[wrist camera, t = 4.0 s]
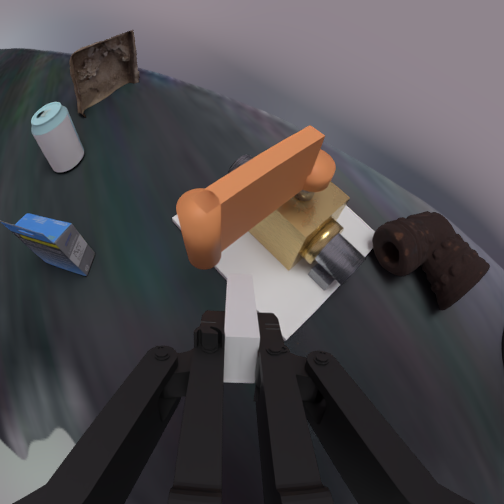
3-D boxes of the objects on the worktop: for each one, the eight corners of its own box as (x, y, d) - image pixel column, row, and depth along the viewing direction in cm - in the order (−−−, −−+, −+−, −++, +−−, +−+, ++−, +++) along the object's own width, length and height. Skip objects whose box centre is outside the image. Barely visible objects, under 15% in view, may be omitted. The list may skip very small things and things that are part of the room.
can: (53, 180, 42) (25, 133, 31) (53, 155, 45) (30, 110, 34) (86, 165, 44) (63, 114, 33) (84, 141, 46) (65, 93, 36)
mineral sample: (84, 119, 49) (64, 61, 36) (76, 114, 50) (56, 59, 36) (143, 81, 56) (135, 25, 42) (134, 77, 57) (125, 24, 43)
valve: (358, 264, 39) (398, 222, 28) (322, 303, 36) (359, 269, 26) (257, 173, 44) (267, 115, 34) (217, 201, 41) (216, 142, 31)
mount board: (378, 241, 42) (381, 238, 41) (284, 341, 34) (286, 339, 34) (276, 152, 48) (277, 148, 47) (173, 221, 40) (171, 218, 39)
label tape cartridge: (97, 252, 37) (59, 203, 26) (87, 277, 36) (43, 234, 24) (53, 240, 37) (12, 194, 26) (43, 263, 36) (-2, 221, 25)
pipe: (386, 207, 34) (458, 304, 27) (440, 186, 39) (498, 258, 32) (358, 251, 42) (415, 334, 35) (414, 223, 47) (463, 289, 40)
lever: (306, 153, 30) (323, 104, 24) (337, 178, 29) (360, 130, 23) (175, 245, 24) (161, 197, 18) (208, 283, 23) (202, 242, 17)
